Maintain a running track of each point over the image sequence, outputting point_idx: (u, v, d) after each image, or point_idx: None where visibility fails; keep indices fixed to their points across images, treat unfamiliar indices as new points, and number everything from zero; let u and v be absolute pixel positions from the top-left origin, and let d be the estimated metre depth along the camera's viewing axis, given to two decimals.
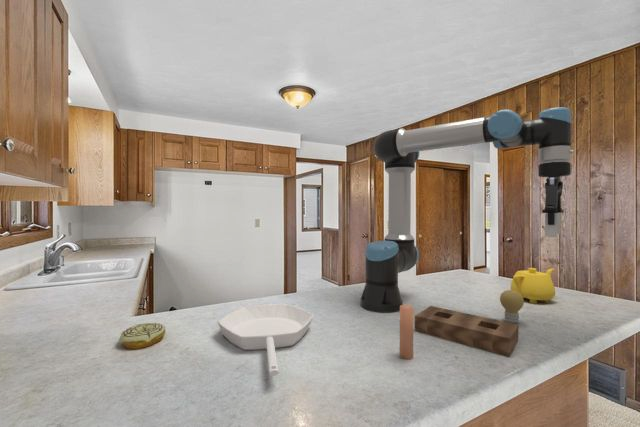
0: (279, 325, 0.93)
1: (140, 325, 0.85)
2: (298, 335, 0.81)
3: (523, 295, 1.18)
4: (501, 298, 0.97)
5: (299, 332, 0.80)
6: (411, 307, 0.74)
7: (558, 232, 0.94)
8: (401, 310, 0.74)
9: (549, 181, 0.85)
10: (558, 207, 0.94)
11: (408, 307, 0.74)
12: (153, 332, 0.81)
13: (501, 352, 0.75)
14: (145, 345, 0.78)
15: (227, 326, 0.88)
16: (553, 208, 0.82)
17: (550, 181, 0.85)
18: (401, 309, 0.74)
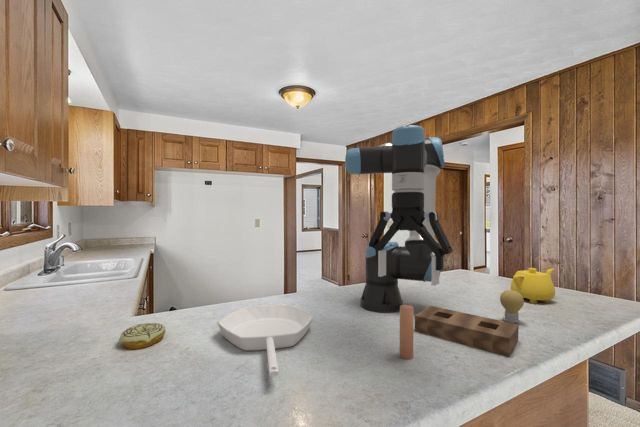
0: (279, 325, 0.92)
1: (140, 325, 0.85)
2: (298, 336, 0.80)
3: (523, 295, 1.18)
4: (501, 298, 0.97)
5: (299, 333, 0.80)
6: (411, 307, 0.74)
7: None
8: (401, 310, 0.74)
9: None
10: None
11: (408, 307, 0.74)
12: (153, 332, 0.81)
13: (501, 352, 0.75)
14: (145, 345, 0.78)
15: (227, 327, 0.88)
16: None
17: None
18: (401, 309, 0.74)
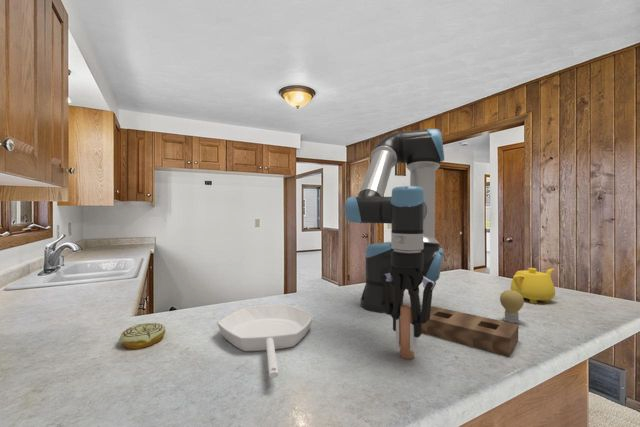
0: (279, 326, 0.92)
1: (140, 325, 0.85)
2: (298, 336, 0.80)
3: (523, 295, 1.18)
4: (501, 298, 0.97)
5: (299, 333, 0.79)
6: None
7: None
8: (402, 310, 0.74)
9: None
10: None
11: (408, 307, 0.74)
12: (153, 332, 0.81)
13: (501, 352, 0.75)
14: (145, 345, 0.78)
15: (227, 327, 0.87)
16: None
17: None
18: (402, 309, 0.74)
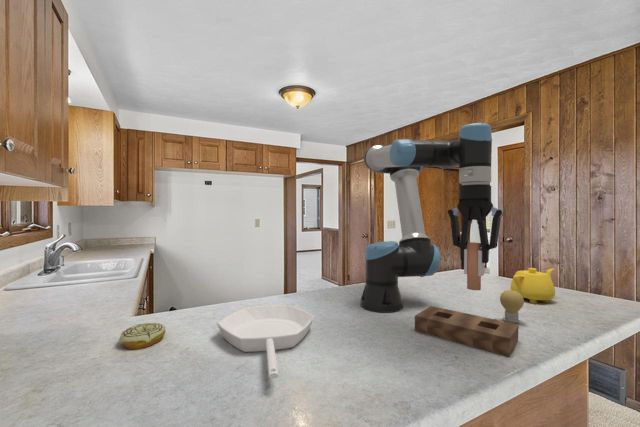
0: (279, 326, 0.92)
1: (140, 325, 0.85)
2: (298, 337, 0.79)
3: (523, 295, 1.18)
4: (501, 298, 0.97)
5: (299, 334, 0.79)
6: (478, 243, 0.80)
7: None
8: (469, 245, 0.80)
9: None
10: None
11: (475, 243, 0.80)
12: (153, 332, 0.81)
13: (501, 352, 0.75)
14: (145, 345, 0.78)
15: (227, 327, 0.87)
16: None
17: None
18: (469, 244, 0.80)
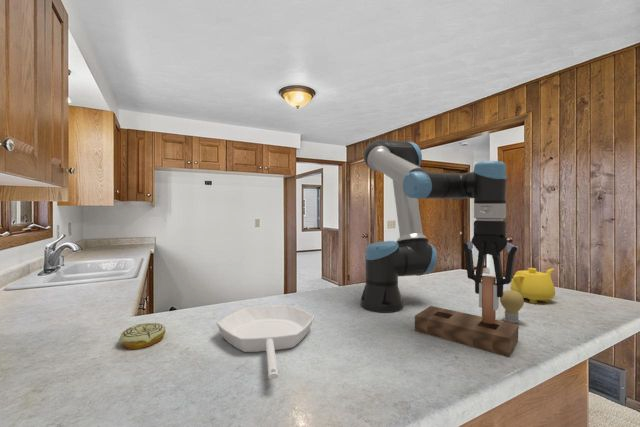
0: (279, 326, 0.91)
1: (140, 325, 0.85)
2: (298, 337, 0.79)
3: (523, 295, 1.18)
4: (501, 298, 0.97)
5: (299, 334, 0.79)
6: (493, 277, 0.81)
7: None
8: (484, 280, 0.81)
9: None
10: None
11: (490, 277, 0.82)
12: (153, 332, 0.81)
13: (501, 352, 0.75)
14: (145, 345, 0.78)
15: (227, 328, 0.87)
16: None
17: None
18: (484, 279, 0.81)
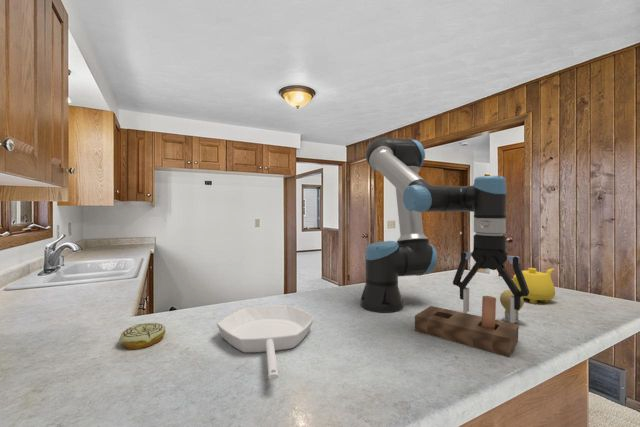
0: (279, 327, 0.91)
1: (140, 325, 0.85)
2: (299, 337, 0.79)
3: None
4: (501, 298, 0.97)
5: (300, 334, 0.79)
6: (493, 298, 0.81)
7: (510, 320, 0.78)
8: (485, 300, 0.81)
9: None
10: None
11: (491, 298, 0.82)
12: (153, 332, 0.81)
13: (501, 352, 0.75)
14: (145, 345, 0.78)
15: (226, 328, 0.87)
16: None
17: None
18: (485, 299, 0.81)
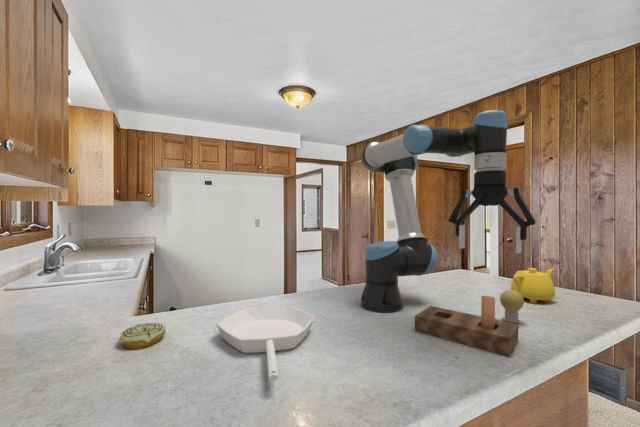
0: (279, 327, 0.91)
1: (140, 325, 0.85)
2: (299, 338, 0.79)
3: (523, 295, 1.18)
4: (501, 298, 0.97)
5: (300, 335, 0.78)
6: (492, 298, 0.82)
7: (516, 251, 0.77)
8: (484, 300, 0.82)
9: None
10: (515, 220, 0.77)
11: (490, 297, 0.82)
12: (153, 332, 0.81)
13: (501, 352, 0.75)
14: (145, 345, 0.78)
15: (226, 328, 0.86)
16: None
17: None
18: (484, 299, 0.82)
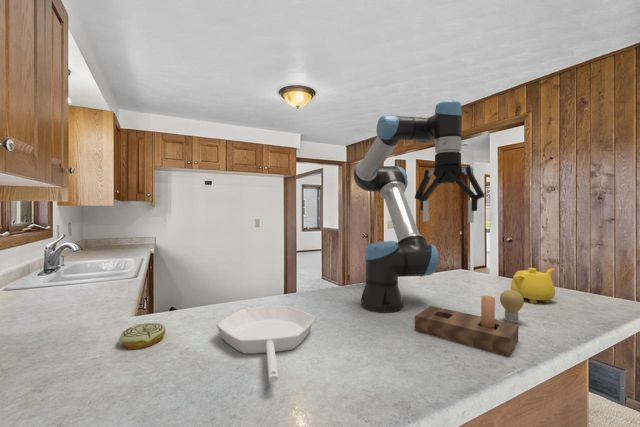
0: (279, 328, 0.91)
1: (140, 325, 0.85)
2: (299, 338, 0.78)
3: (523, 295, 1.18)
4: (501, 298, 0.97)
5: (300, 335, 0.78)
6: (492, 298, 0.82)
7: None
8: (484, 300, 0.82)
9: None
10: (467, 194, 0.90)
11: (490, 297, 0.82)
12: (153, 332, 0.81)
13: (501, 352, 0.75)
14: (145, 345, 0.78)
15: (226, 329, 0.86)
16: None
17: None
18: (484, 299, 0.82)
